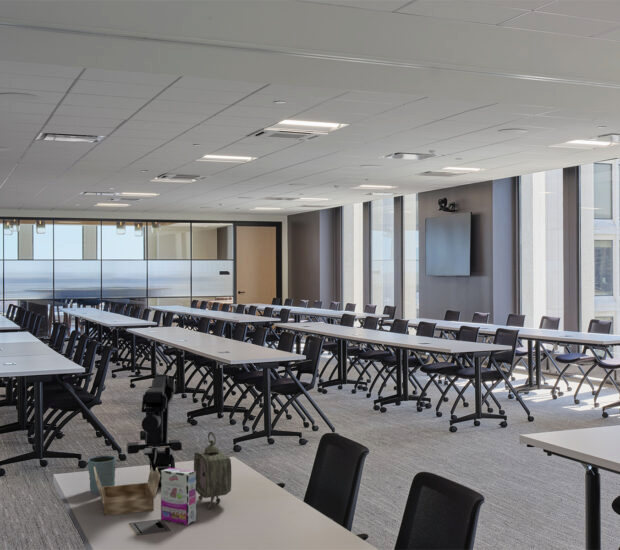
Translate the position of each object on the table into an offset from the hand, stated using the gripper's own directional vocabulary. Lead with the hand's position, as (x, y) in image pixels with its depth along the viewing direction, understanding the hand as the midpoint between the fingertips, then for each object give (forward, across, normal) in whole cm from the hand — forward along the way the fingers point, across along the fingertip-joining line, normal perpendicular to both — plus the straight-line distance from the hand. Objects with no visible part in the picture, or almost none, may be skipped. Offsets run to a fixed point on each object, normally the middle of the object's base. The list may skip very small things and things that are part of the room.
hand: (154, 470), depth 260 cm
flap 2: (+3, 0, 0) cm, 3 cm away
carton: (+11, +9, 0) cm, 14 cm away
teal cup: (+11, +17, -19) cm, 28 cm away
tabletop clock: (+11, -19, +9) cm, 24 cm away
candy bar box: (+11, -5, +23) cm, 26 cm away
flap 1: (+3, +18, 0) cm, 19 cm away
